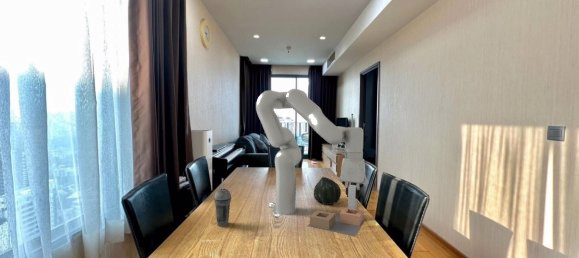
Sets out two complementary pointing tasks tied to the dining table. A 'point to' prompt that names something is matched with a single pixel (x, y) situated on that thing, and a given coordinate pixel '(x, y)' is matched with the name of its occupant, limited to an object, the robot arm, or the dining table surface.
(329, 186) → the squash
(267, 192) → the dining table surface
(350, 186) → the peg
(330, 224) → the dock plate
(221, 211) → the beverage cup
